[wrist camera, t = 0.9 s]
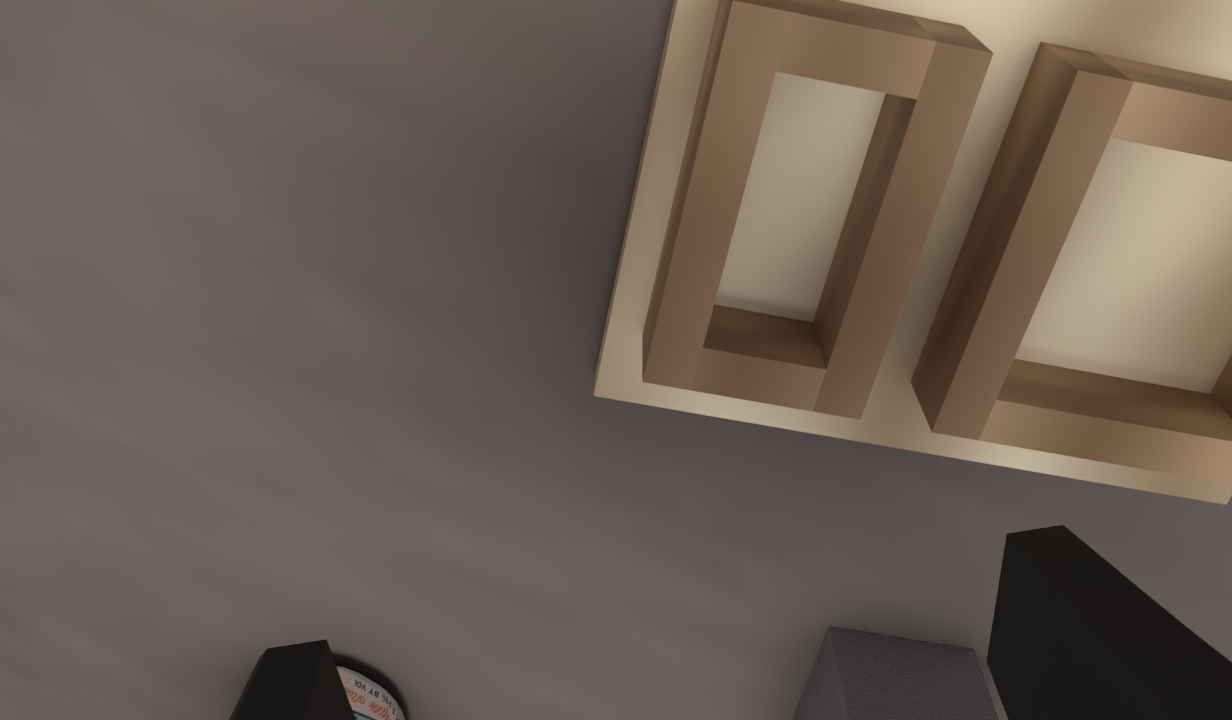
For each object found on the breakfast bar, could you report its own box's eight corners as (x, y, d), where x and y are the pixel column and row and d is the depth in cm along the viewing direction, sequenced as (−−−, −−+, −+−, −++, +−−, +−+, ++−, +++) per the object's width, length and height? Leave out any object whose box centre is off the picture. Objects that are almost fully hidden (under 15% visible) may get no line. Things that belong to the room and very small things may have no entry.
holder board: (1469, 21, 21) (1589, 62, 18) (1207, 479, 26) (1269, 561, 23) (703, -141, 20) (713, -123, 17) (595, 373, 25) (589, 447, 22)
